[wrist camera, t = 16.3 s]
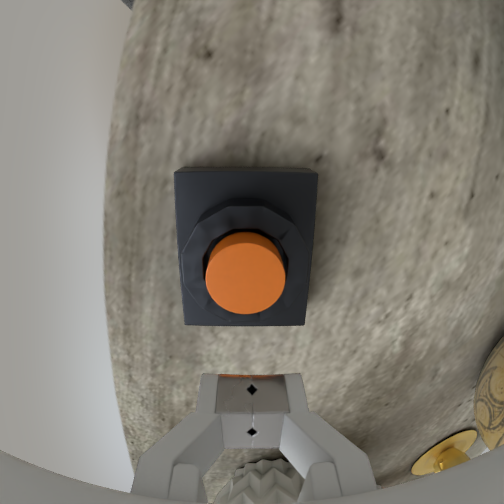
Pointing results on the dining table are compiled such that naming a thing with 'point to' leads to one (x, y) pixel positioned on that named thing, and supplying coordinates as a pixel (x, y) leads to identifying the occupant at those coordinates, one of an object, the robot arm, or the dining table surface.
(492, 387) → the ceramic bowl
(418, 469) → the cup
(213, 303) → the push button housing
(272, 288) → the flush button
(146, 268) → the dining table surface
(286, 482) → the vase
